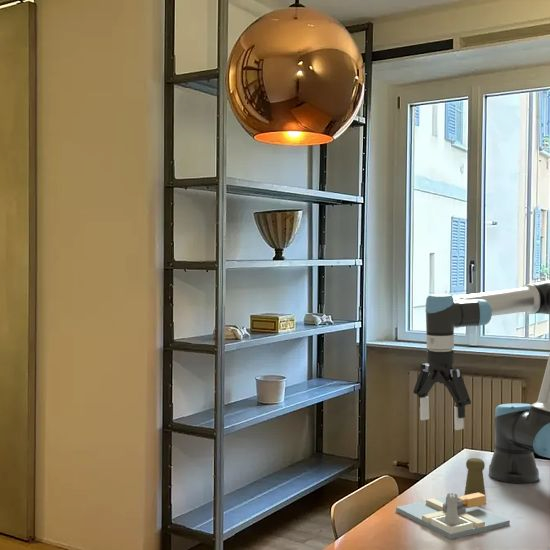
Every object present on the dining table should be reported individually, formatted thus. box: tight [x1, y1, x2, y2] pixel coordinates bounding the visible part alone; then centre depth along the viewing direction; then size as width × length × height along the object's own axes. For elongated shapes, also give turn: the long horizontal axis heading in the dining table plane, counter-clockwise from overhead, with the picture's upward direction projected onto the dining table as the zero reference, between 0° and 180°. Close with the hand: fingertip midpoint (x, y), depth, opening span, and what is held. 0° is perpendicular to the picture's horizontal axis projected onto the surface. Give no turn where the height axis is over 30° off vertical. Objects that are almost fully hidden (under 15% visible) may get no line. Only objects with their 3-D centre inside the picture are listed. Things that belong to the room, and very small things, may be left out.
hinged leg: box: [446, 492, 487, 508], centre depth 195 cm, size 12×4×2 cm, turn 118°
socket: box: [431, 515, 473, 534], centre depth 185 cm, size 7×7×2 cm
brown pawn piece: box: [463, 457, 486, 496], centre depth 212 cm, size 6×6×11 cm
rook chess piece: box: [443, 492, 461, 527], centre depth 185 cm, size 4×4×8 cm
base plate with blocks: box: [395, 495, 510, 540], centre depth 195 cm, size 20×22×4 cm
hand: (441, 424), depth 205 cm, fingers open, 13 cm apart
